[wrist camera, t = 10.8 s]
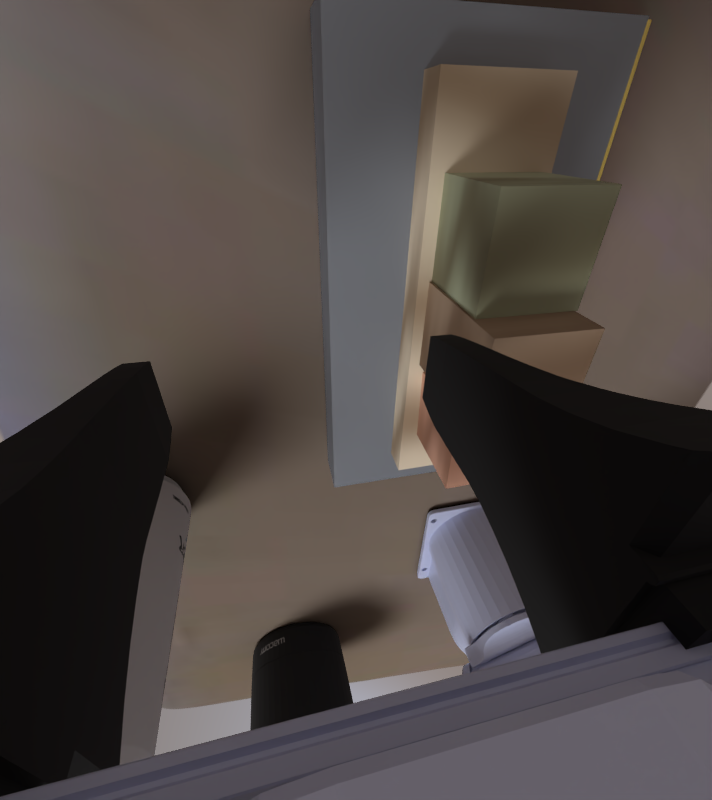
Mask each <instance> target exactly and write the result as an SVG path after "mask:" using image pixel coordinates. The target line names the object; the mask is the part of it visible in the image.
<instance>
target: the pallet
mask: <svg viewBox="0 0 712 800" xmlns="http://www.w3.org/2000/svg"><path fill="white" fill-rule="evenodd" d="M577 73H578V71H575V70H554V69H533V68H512V67H492V66H471V65H450V64H440V65H437V66H433V67H430V68H427V69H424V77H423V88H422V100H421V112H420V123H419V135H418V146H417V158H416V170H415V181H414V193H413V204H412V216H411V228H410V239H409V251H408V262H407V274H406V286H405V297H404V309H403V320H402V332H401V344H400V355H399V367H398V378H397V390H396V402H395V413H394V425H393V436H392V448H391V454H392V456H393V459H394V461H395V463H396V466H397V468H398V470H403V469H410V468H416V467H423V466H429V465H433V464H432V462H431V460H430V458H429V456H428V454H427V453H426V451H425V449H424V447H423V445H422V443H421V441H420V440H419V438H418V436H417V427H418V417H419V406H420V396H421V385H422V374H423V372H425V373H426V366H427V358H428V351H429V343H430V336H438V335H449V334H452V335H456V336H459V337H462V338H465V339H468V340H470V341H473V342H475V343H478V344H480V345H482V346H485V347H487V348H490V349H492V350H494V351H497V352H499V353H501V354H504V355H506V356H508V357H511V358H513V359H515V360H518V361H520V362H523V363H525V364H528V365H530V366H533V367H536V368H538V369H541V370H544V371H546V372H549V373H552V374H555V375H557V376H560V377H563V378H566V379H569V380H573V381H576V382H580V383H583V381H584V379H585V376H586V374H587V372H588V369H589V367H590V364H591V362H592V359H593V357H594V354H595V352H596V350H597V347H598V345H599V342H600V340H601V337H602V335H603V332H604V330H605V328H603V327H602V326H600V325H598V324H596V323H595V322H593V321H591V320H589V319H588V318H586V317H584V316H582V315H581V314H579V313H577V312H575V311H567V312H556V313H544V314H532V315H521V316H509V317H497V318H486V319H474V318H473V317H472V316H471V315H470V314H468V313H467V312H466V311H465V310H464V309H463V308H462V307H460V306H459V305H458V304H457V303H456V302H455V301H453V300H452V299H451V298H450V297H449V296H448V295H446V294H445V293H444V292H443V291H442V290H441V289H439V288H438V287H437V286H436V285H435V284H434V283H432V276H433V267H434V259H435V251H436V243H437V235H438V226H439V218H440V210H441V202H442V193H443V185H444V177H445V173H484V172H547V173H552V169H553V165H554V162H555V158H556V154H557V150H558V146H559V142H560V138H561V135H562V131H563V127H564V123H565V119H566V115H567V112H568V108H569V104H570V100H571V96H572V92H573V88H574V85H575V81H576V77H577Z"/></svg>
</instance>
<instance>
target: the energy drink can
mask: <svg viewBox="0 0 712 800" xmlns="http://www.w3.org/2000/svg"><path fill="white" fill-rule="evenodd" d="M190 517H191V504H190V501H189V499H188V497H187V495H186V494H185V493H184V492H183V491H182V489H181V487H180V486H179V485H178V484H177V483H176V482H175V481H174V480H172V479H171V478H169V477H167V476H164V480H163V483H162V487H161V491H160V494H159V498H158V501H157V505H156V509H155V512H154V516H153V519H152V523H151V527H150V530H149V534H148V537H147V541H146V546H145V550H144V555H143V559H142V566H141V572H140V579H139V585H138V591H137V598H136V605H135V613H134V621H133V628H132V636H131V644H130V653H129V663H128V673H127V682H126V692H125V702H124V715H123V728H122V741H121V754H120V765H122V764H126V763H130V762H133V761H137V760H141V759H145V758H148V757H152V756H154V754H155V747H156V741H157V734H158V727H159V721H160V714H161V708H162V701H163V695H164V688H165V682H166V675H167V668H168V662H169V655H170V649H171V642H172V635H173V629H174V622H175V616H176V609H177V602H178V596H179V589H180V583H181V576H182V569H183V563H184V556H185V550H186V543H187V536H188V530H189V523H190Z"/></svg>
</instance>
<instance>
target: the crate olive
mask: <svg viewBox="0 0 712 800" xmlns="http://www.w3.org/2000/svg"><path fill="white" fill-rule="evenodd" d="M621 186H622V184H616V183H610V182H604V181H597V180H591V179H585V178H578V177H572V176H566V175H559V174H553V173H547V172H484V173H445V177H444V185H443V193H442V202H441V210H440V218H439V226H438V235H437V243H436V251H435V259H434V267H433V276H432V283H434V284H435V285H436V286H437V287H438V288H439V289H441V290H442V291H443V292H444V293H445V294H446V295H448V296H449V297H450V298H451V299H452V300H453V301H455V302H456V303H457V304H458V305H459V306H460V307H462V308H463V309H464V310H465V311H466V312H467V313H468V314H470V315H471V316H472V317H473V318H474V319H486V318H497V317H509V316H521V315H532V314H544V313H556V312H567V311H578V308H579V305H580V302H581V299H582V297H583V294H584V291H585V288H586V285H587V282H588V280H589V277H590V274H591V271H592V268H593V265H594V263H595V260H596V257H597V254H598V251H599V248H600V246H601V243H602V240H603V237H604V234H605V231H606V228H607V226H608V223H609V220H610V217H611V214H612V211H613V209H614V206H615V203H616V200H617V197H618V194H619V192H620V189H621Z"/></svg>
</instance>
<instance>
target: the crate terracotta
mask: <svg viewBox="0 0 712 800" xmlns="http://www.w3.org/2000/svg"><path fill="white" fill-rule="evenodd" d="M425 374H426V373H425V372H423V374H422V385H421V396H420V406H419V417H418V427H417V436H418V438H419V440H420V441H421V443H422V445H423V447H424V449H425V451H426V453H427V454H428V456H429V458H430V460H431V462H432V464H433V465H434V467H435V469H436V471H437V473H438V475H439V477H440V478H441V480H442V482H443V484H444V486H445V488H446V489H447V488H453V487H458V486H463V485H468V484H469V482H468V481H467V479H466V477H465V476H464V474H463V473H462V471H461V469H460V468H459V466H458V464H457V463H456V461H455V460H454V458H453V456H452V455H451V453H450V452H449V450H448V448H447V447H446V445H445V443H444V442H443V440H442V438H441V437H440V435H439V433H438V432H437V430H436V428H435V427H434V425H433V422H432V420H431V418H430V416H429V413H428V411H427V408H426V406H425V403H424V401H423V398H422V396H423V389H424V381H425Z"/></svg>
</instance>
